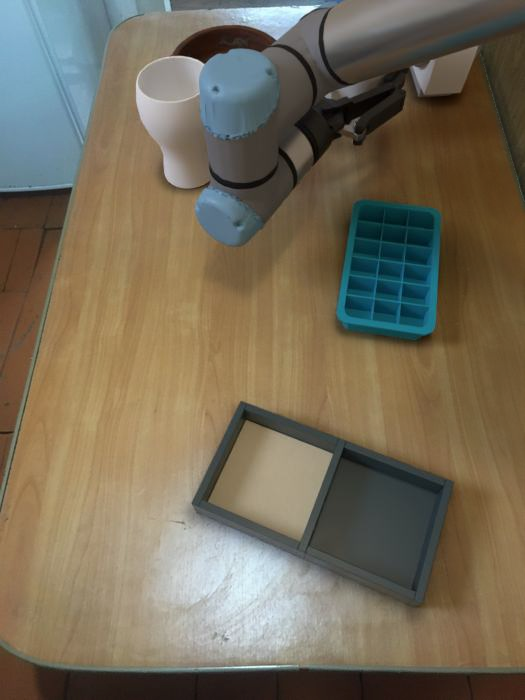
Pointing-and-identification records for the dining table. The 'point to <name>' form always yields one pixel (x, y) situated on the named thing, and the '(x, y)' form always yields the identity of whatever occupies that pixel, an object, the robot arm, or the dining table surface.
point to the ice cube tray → (391, 270)
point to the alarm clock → (444, 73)
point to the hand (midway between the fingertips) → (374, 51)
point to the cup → (175, 117)
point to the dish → (222, 41)
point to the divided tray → (327, 502)
